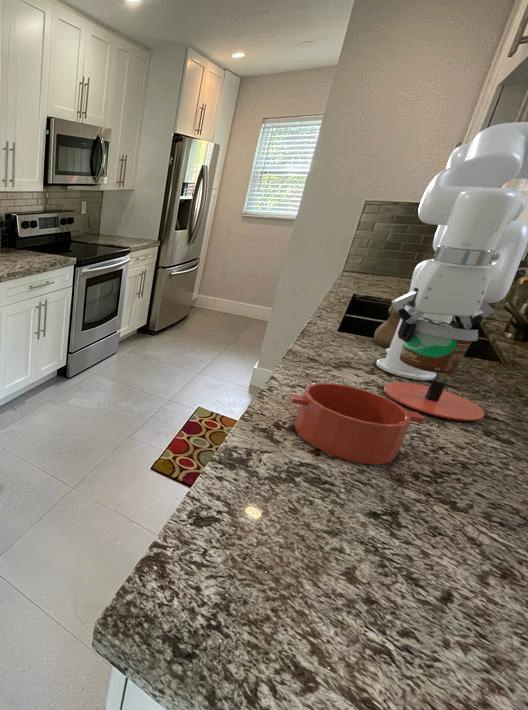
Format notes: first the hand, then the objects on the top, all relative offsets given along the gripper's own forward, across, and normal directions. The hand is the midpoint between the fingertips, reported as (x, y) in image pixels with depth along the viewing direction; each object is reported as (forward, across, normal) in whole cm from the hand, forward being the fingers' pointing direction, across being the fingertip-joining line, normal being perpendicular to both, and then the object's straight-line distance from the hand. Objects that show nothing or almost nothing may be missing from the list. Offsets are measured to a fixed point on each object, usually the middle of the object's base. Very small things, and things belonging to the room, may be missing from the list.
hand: (426, 341), depth 85 cm
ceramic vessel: (+20, -26, -52) cm, 61 cm away
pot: (+18, +15, +13) cm, 27 cm away
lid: (+18, -12, -12) cm, 25 cm away
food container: (+6, 0, 0) cm, 6 cm away
